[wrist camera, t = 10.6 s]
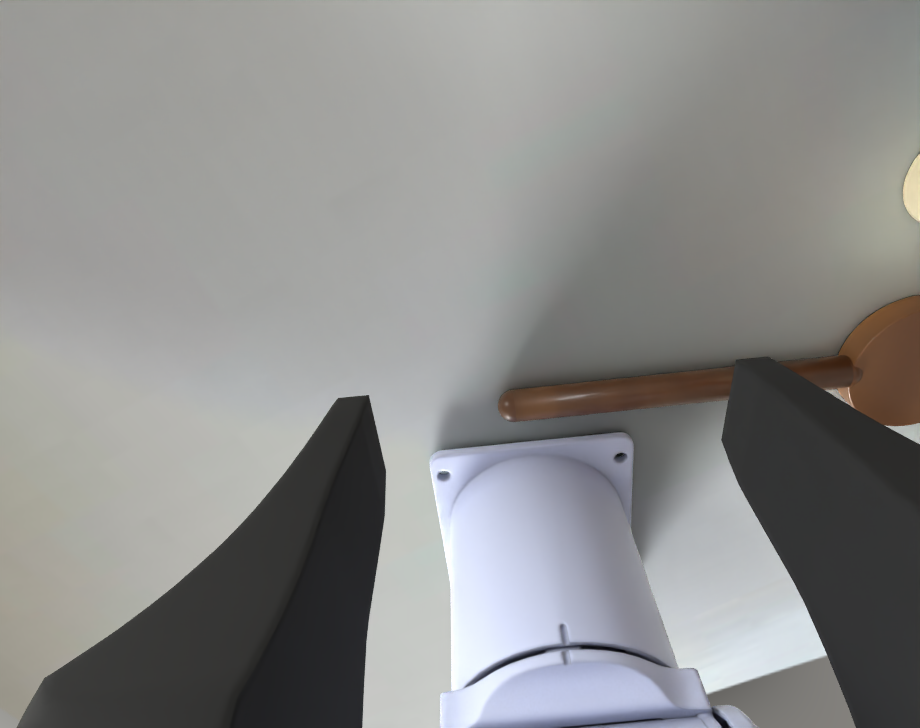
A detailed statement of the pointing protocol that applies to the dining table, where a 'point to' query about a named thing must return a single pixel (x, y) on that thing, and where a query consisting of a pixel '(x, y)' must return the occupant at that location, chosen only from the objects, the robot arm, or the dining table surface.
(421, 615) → the dining table surface
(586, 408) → the spoon
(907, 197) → the toy mushroom
